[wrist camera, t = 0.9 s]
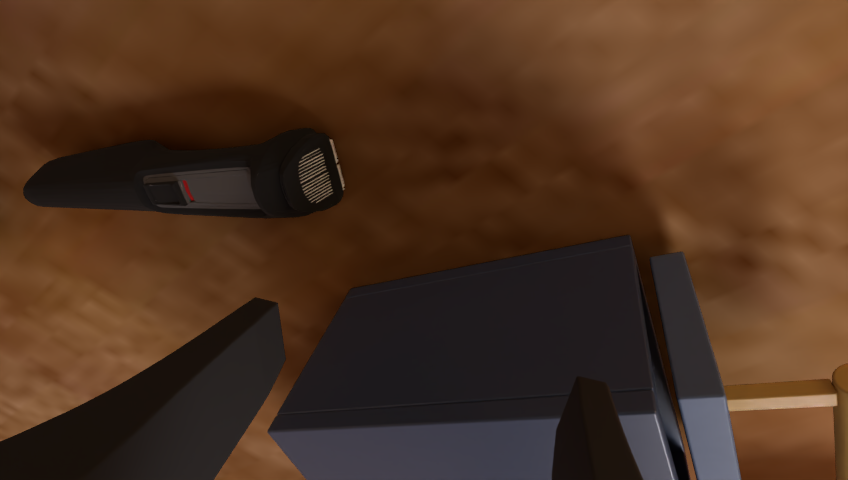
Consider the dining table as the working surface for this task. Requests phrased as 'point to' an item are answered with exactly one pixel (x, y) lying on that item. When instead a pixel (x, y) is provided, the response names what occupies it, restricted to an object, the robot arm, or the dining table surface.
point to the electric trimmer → (198, 178)
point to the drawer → (712, 401)
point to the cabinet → (481, 371)
